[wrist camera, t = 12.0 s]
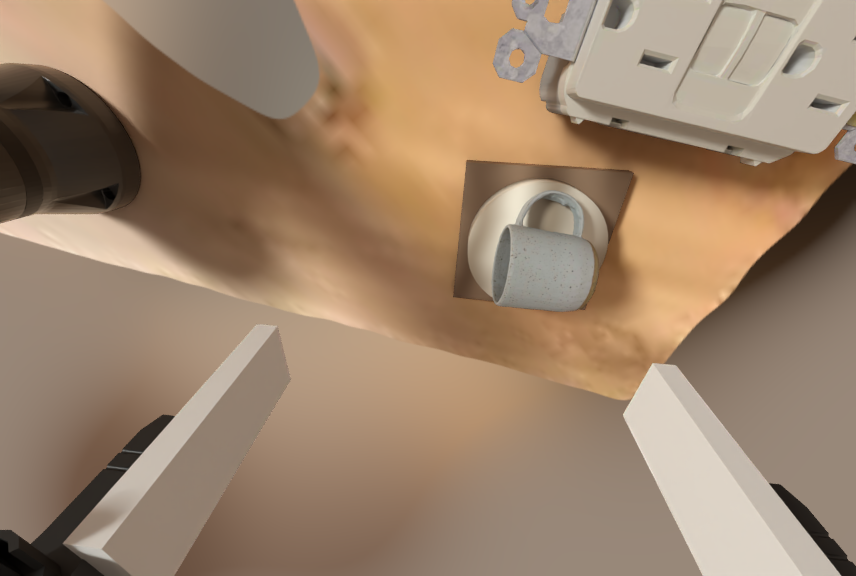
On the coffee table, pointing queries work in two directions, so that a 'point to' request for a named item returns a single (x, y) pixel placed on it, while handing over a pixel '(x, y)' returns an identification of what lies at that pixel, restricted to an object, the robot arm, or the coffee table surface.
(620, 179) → the pedestal
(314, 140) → the coffee table surface
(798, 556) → the robot arm
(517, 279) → the ceramic mug
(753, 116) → the electrical outlet
